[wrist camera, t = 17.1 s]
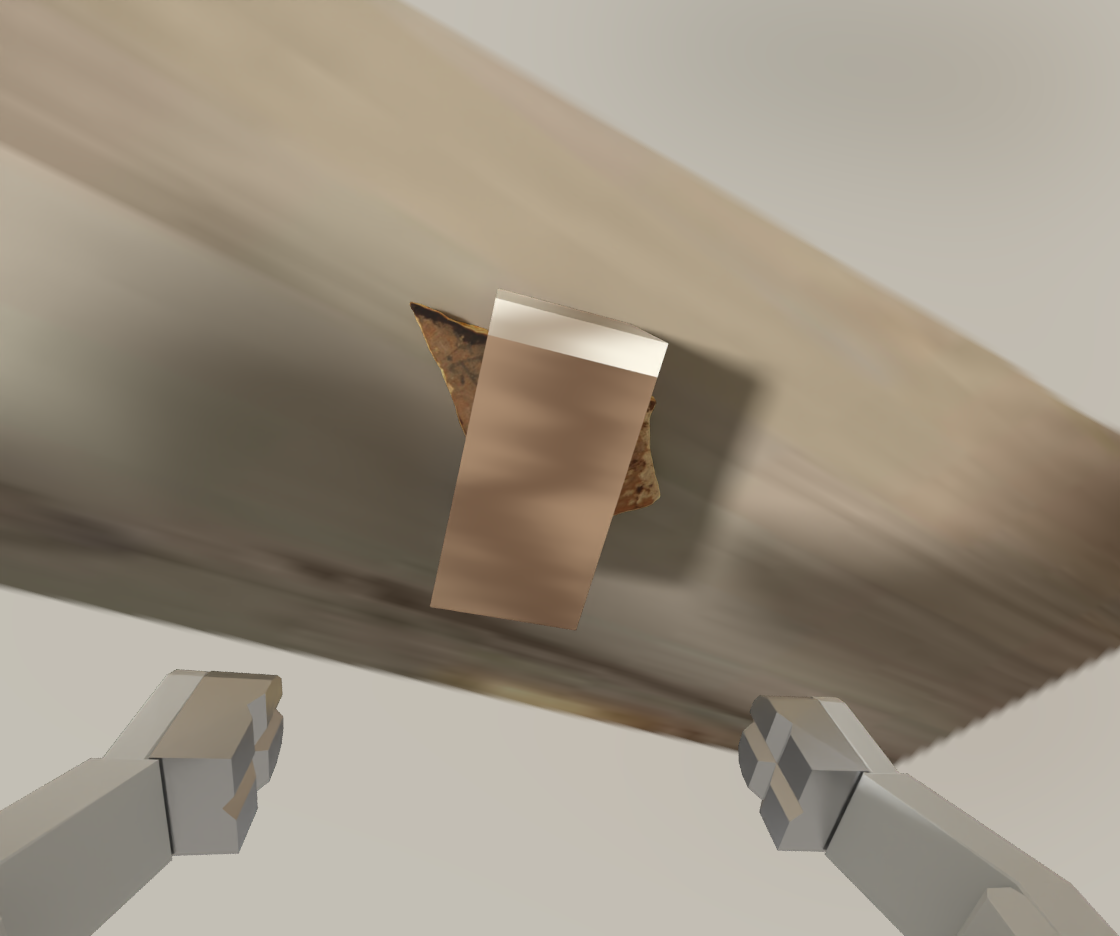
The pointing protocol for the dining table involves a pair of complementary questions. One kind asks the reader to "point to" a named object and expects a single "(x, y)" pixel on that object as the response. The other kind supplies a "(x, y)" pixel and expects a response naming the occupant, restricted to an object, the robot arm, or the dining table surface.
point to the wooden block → (543, 460)
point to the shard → (460, 367)
